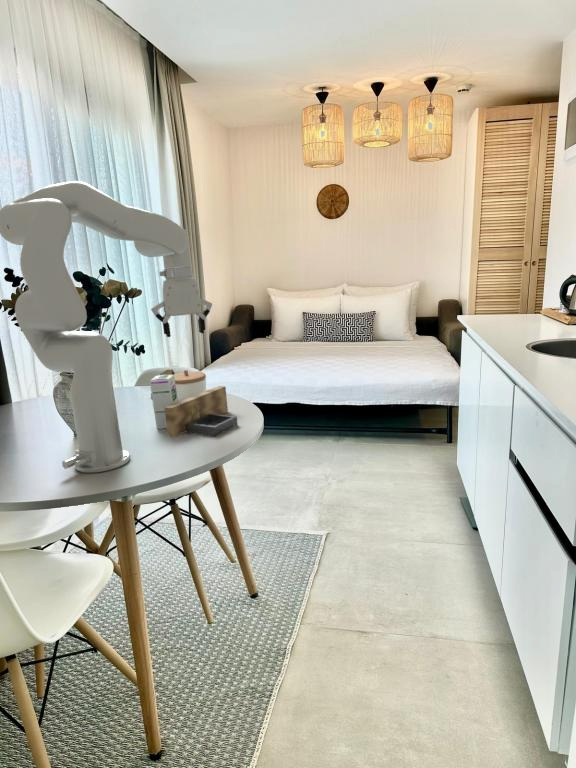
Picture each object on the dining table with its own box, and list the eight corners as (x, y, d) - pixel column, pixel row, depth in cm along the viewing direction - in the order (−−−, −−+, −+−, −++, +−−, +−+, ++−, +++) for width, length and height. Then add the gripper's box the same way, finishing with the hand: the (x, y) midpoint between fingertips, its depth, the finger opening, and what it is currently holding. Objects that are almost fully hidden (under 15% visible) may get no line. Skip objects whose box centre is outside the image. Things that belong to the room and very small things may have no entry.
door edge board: (175, 436, 141) (172, 408, 139) (168, 435, 142) (164, 407, 140) (228, 411, 161) (226, 386, 159) (221, 410, 162) (219, 385, 160)
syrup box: (176, 428, 148) (170, 378, 145) (155, 429, 148) (149, 379, 145) (180, 421, 154) (175, 373, 150) (160, 423, 154) (154, 375, 151)
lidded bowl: (200, 407, 168) (196, 374, 165) (163, 407, 170) (159, 374, 168) (213, 397, 180) (210, 365, 177) (179, 397, 182) (175, 366, 180)
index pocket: (215, 436, 139) (214, 427, 138) (186, 432, 144) (185, 423, 143) (237, 425, 147) (236, 416, 147) (209, 421, 152) (208, 413, 152)
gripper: (149, 276, 141) (156, 339, 145) (211, 272, 147) (217, 332, 151) (145, 276, 148) (152, 336, 151) (205, 272, 154) (211, 330, 158)
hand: (185, 334), depth 151 cm, fingers open, 9 cm apart
